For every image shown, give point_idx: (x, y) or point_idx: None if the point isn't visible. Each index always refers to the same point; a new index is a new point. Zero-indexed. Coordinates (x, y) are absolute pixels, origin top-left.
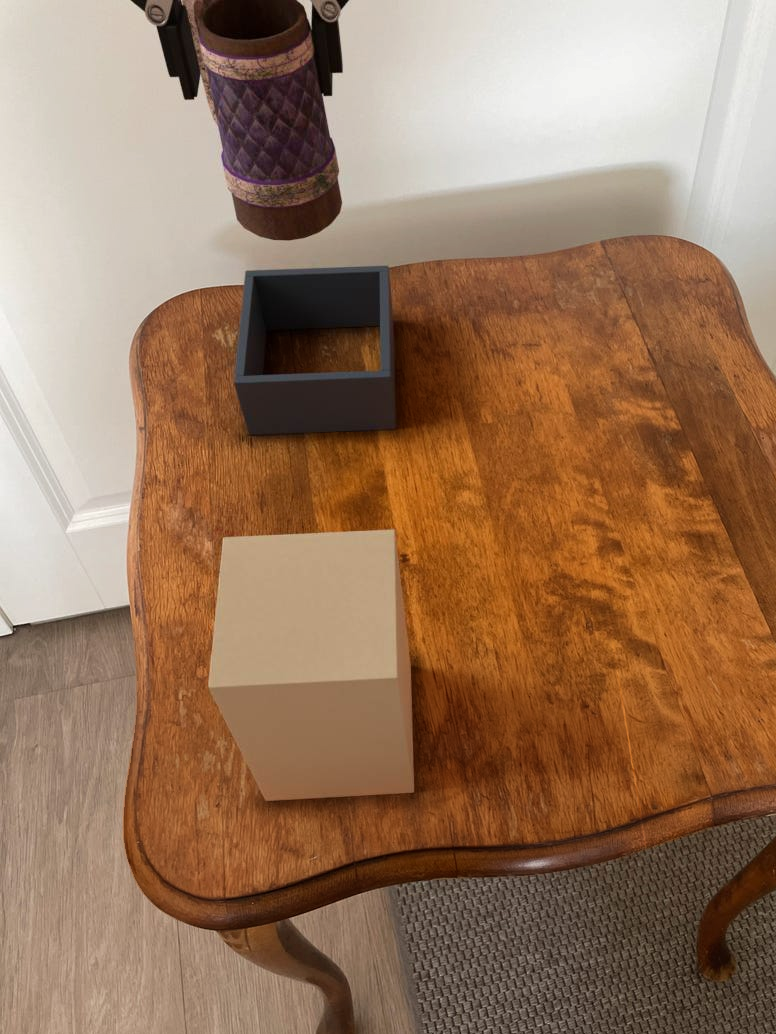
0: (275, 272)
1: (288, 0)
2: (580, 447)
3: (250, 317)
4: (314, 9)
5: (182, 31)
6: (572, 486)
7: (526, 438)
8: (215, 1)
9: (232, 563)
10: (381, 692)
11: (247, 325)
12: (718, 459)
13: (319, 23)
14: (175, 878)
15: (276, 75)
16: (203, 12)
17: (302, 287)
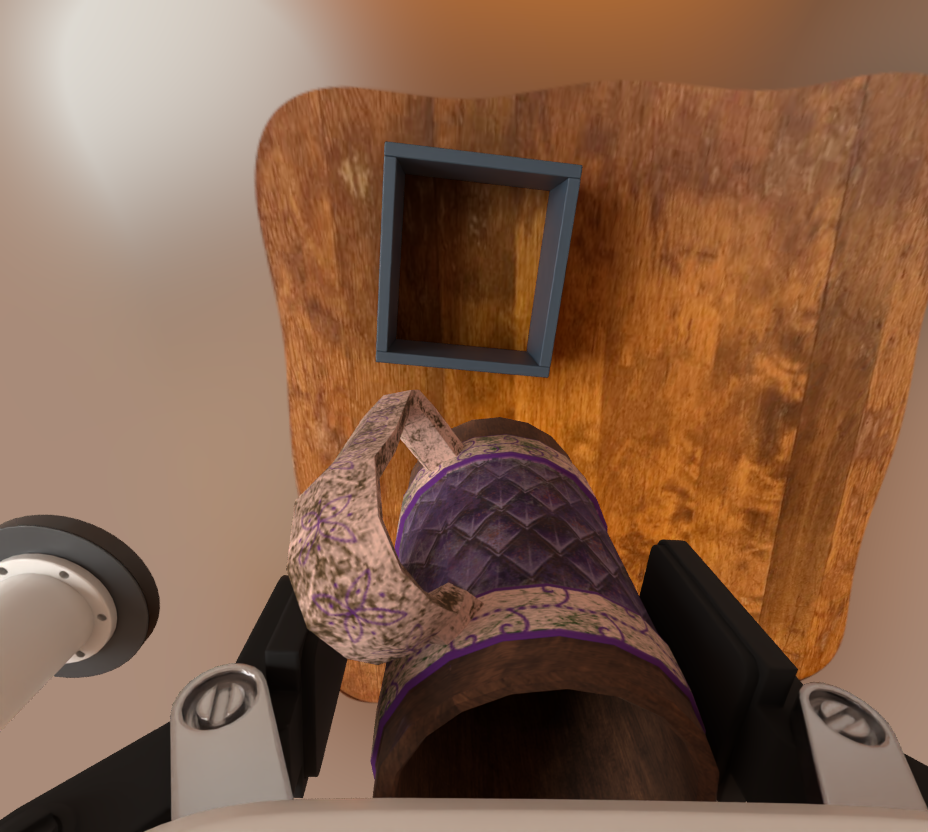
0: (427, 154)
1: (678, 734)
2: (701, 409)
3: (392, 244)
4: (747, 799)
5: (320, 750)
6: (676, 452)
7: (655, 391)
8: (429, 726)
9: None
10: None
11: (389, 264)
12: (815, 441)
13: (735, 800)
14: (349, 692)
15: None
16: (389, 783)
17: (460, 168)
